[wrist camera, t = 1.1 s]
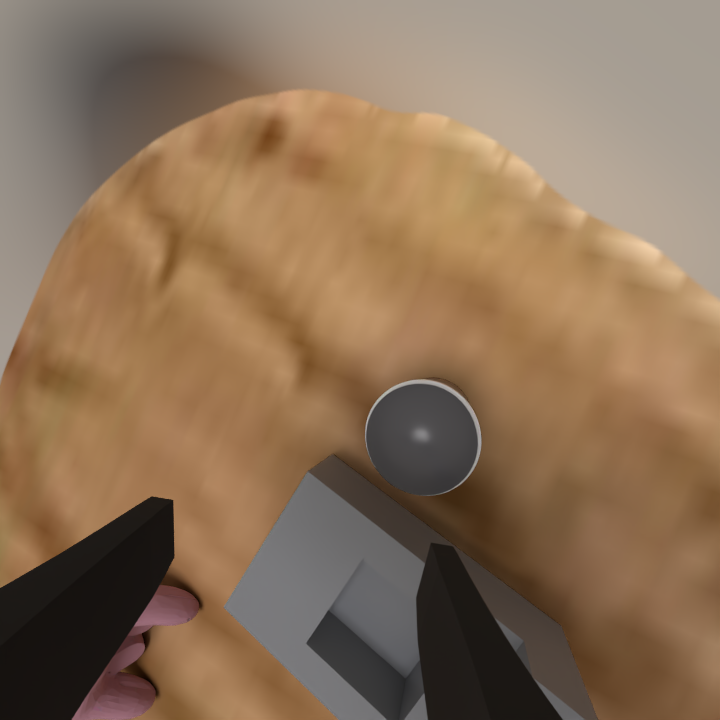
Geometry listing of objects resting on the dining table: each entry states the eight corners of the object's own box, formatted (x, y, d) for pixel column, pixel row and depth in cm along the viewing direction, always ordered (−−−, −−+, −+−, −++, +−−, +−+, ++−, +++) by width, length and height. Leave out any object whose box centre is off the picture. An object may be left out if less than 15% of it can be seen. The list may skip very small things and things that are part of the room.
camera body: (561, 625, 20) (603, 734, 14) (461, 752, 21) (462, 899, 15) (332, 454, 23) (291, 482, 18) (260, 569, 25) (199, 631, 19)
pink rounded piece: (186, 558, 28) (81, 579, 23) (207, 606, 25) (90, 643, 20) (140, 655, 29) (28, 697, 24) (154, 713, 26) (30, 775, 21)
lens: (489, 403, 21) (507, 425, 13) (446, 467, 21) (438, 523, 14) (421, 361, 22) (401, 357, 14) (382, 423, 23) (342, 452, 15)
